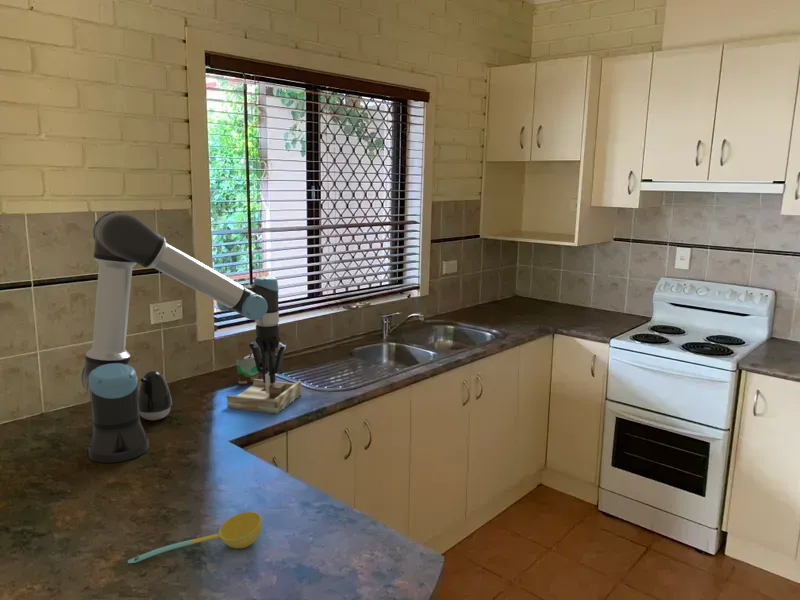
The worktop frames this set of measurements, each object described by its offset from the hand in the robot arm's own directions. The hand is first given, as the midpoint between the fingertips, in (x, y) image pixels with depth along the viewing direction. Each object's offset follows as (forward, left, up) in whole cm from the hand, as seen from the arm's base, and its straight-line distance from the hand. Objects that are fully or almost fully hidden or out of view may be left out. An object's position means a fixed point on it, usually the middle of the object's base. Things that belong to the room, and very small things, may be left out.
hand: (269, 392), depth 207 cm
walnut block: (0, -3, -1) cm, 3 cm away
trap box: (0, +2, -3) cm, 4 cm away
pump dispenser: (-23, +28, -4) cm, 36 cm away
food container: (+16, +16, -4) cm, 23 cm away
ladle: (-79, -26, -4) cm, 84 cm away
